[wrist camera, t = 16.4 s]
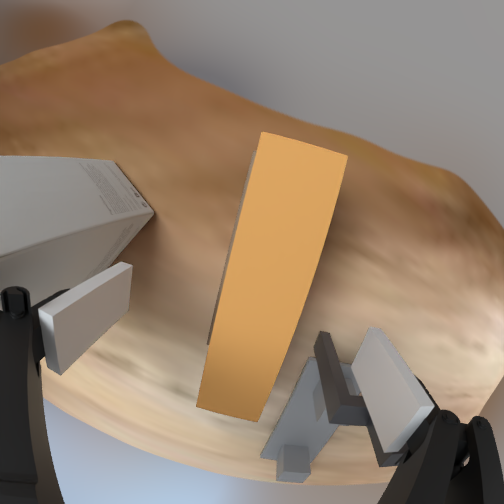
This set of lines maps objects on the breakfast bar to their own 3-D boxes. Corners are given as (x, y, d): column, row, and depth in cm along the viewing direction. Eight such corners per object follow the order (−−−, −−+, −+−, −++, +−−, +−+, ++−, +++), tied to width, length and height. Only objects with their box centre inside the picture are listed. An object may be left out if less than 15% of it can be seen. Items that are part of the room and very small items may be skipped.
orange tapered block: (207, 375, 19) (195, 406, 15) (264, 144, 15) (261, 131, 11) (260, 388, 18) (257, 422, 15) (332, 163, 15) (348, 156, 11)
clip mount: (260, 454, 26) (257, 483, 22) (308, 356, 23) (314, 389, 18) (309, 460, 26) (311, 488, 22) (371, 367, 22) (385, 397, 18)
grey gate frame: (313, 347, 21) (336, 470, 10) (320, 331, 21) (352, 452, 9) (382, 359, 21) (434, 461, 9) (390, 344, 21) (450, 444, 9)
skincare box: (115, 159, 20) (-50, 144, 5) (161, 216, 21) (-15, 263, 6) (66, 226, 22) (-71, 263, 7) (104, 279, 22) (-30, 358, 7)
